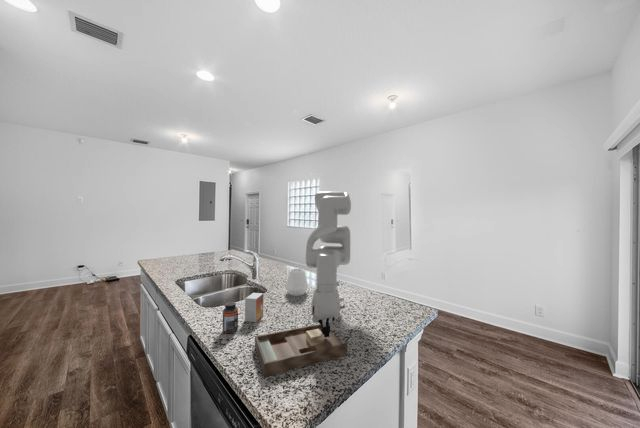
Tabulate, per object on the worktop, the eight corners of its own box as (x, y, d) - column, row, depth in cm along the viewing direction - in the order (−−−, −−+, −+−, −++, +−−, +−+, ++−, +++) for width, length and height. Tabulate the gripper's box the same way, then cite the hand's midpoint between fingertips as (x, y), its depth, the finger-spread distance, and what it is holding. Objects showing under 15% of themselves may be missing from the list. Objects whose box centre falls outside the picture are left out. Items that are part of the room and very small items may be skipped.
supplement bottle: (225, 327, 104) (225, 300, 104) (239, 326, 105) (239, 300, 105) (220, 334, 99) (220, 306, 98) (235, 333, 99) (236, 306, 99)
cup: (282, 290, 152) (283, 268, 151) (303, 288, 157) (303, 266, 157) (289, 298, 139) (289, 273, 139) (311, 295, 145) (311, 271, 144)
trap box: (325, 332, 102) (325, 322, 101) (347, 355, 86) (347, 344, 86) (254, 347, 90) (254, 336, 90) (264, 377, 74) (264, 363, 74)
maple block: (318, 336, 93) (318, 328, 93) (323, 343, 89) (324, 334, 89) (306, 339, 91) (306, 331, 91) (311, 346, 87) (311, 337, 87)
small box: (255, 322, 109) (256, 299, 109) (244, 321, 110) (244, 298, 110) (263, 315, 117) (263, 293, 117) (252, 314, 118) (253, 292, 118)
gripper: (339, 281, 98) (338, 327, 98) (303, 286, 92) (303, 334, 92) (348, 287, 91) (348, 336, 91) (311, 292, 85) (310, 344, 85)
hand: (325, 335), depth 92 cm, fingers closed
